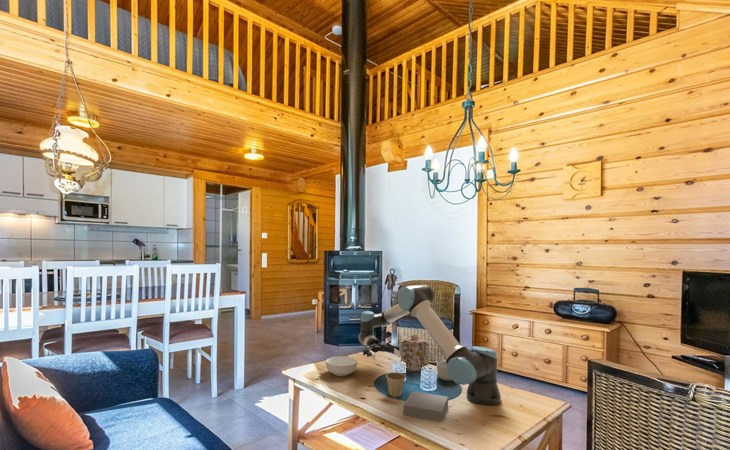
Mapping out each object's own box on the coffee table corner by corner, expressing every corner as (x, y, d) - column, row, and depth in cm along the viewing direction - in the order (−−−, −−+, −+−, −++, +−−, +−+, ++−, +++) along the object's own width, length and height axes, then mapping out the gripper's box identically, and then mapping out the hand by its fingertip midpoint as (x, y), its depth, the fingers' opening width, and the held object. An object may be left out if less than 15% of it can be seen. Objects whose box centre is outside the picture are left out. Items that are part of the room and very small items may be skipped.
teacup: (457, 383, 195) (458, 367, 195) (436, 381, 197) (436, 366, 197) (456, 374, 209) (457, 359, 209) (436, 372, 211) (436, 357, 211)
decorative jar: (400, 366, 221) (400, 334, 221) (414, 362, 228) (415, 332, 228) (414, 372, 211) (415, 339, 212) (429, 368, 218) (429, 336, 219)
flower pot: (404, 390, 185) (404, 372, 185) (406, 398, 175) (407, 379, 176) (384, 390, 184) (384, 372, 185) (386, 398, 175) (386, 379, 175)
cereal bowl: (363, 374, 206) (363, 361, 206) (339, 381, 195) (339, 367, 195) (343, 366, 218) (343, 354, 219) (319, 373, 207) (319, 359, 207)
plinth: (447, 406, 168) (448, 396, 168) (441, 421, 153) (441, 411, 153) (412, 400, 174) (412, 391, 174) (403, 414, 159) (403, 405, 159)
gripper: (393, 349, 214) (409, 361, 194) (350, 352, 206) (363, 365, 186) (393, 335, 214) (410, 346, 194) (351, 338, 206) (363, 350, 186)
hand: (387, 355), depth 190 cm, fingers open, 13 cm apart
